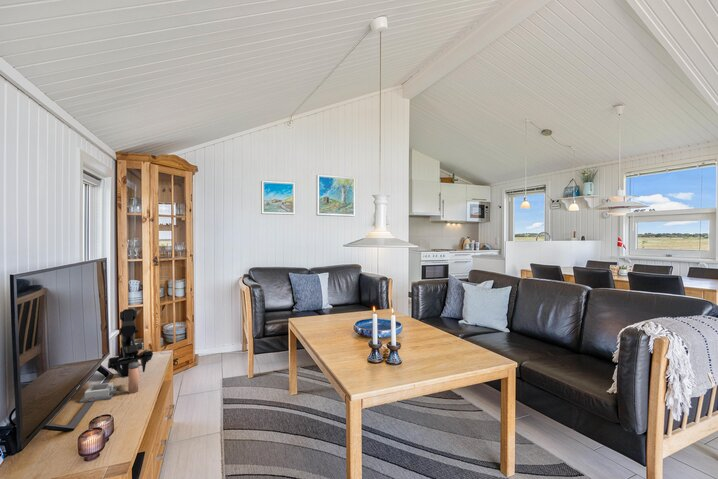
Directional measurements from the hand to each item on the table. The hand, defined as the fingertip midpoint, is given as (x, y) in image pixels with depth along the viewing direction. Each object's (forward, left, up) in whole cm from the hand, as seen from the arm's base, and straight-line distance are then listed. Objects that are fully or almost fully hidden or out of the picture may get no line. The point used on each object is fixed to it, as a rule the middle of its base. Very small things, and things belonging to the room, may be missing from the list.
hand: (133, 374), depth 174 cm
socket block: (-8, -11, -8) cm, 16 cm away
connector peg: (0, 0, -8) cm, 8 cm away
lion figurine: (-35, +21, -9) cm, 42 cm away
